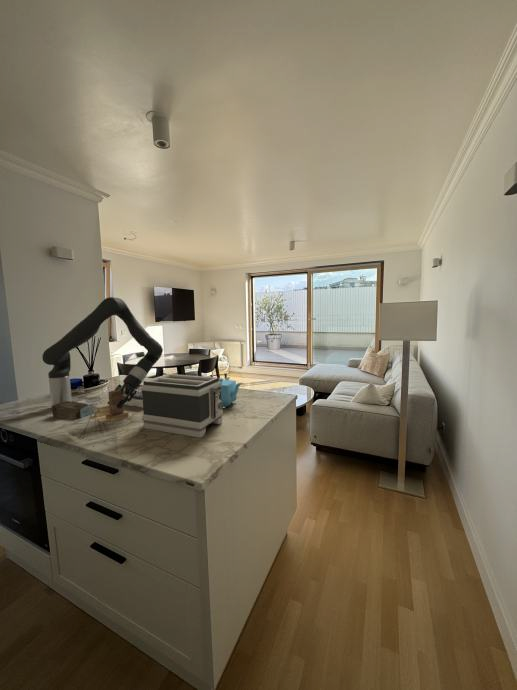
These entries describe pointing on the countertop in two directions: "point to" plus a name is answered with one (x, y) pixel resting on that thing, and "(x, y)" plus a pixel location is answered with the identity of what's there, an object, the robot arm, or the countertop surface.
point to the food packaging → (136, 398)
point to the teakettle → (228, 391)
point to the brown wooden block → (115, 402)
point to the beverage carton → (72, 410)
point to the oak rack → (108, 415)
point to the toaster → (181, 404)
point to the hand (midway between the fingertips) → (113, 406)
